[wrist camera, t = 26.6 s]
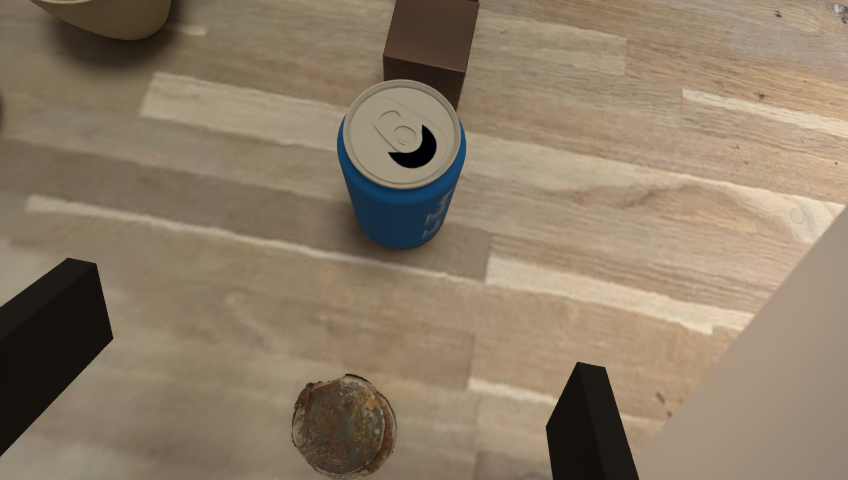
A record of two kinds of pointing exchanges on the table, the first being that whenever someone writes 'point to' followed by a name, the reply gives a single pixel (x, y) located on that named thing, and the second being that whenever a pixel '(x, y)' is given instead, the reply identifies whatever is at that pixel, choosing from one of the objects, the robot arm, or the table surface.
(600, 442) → the robot arm
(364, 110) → the beverage can
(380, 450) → the decorative disc
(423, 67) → the block
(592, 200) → the table surface
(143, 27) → the bowl
